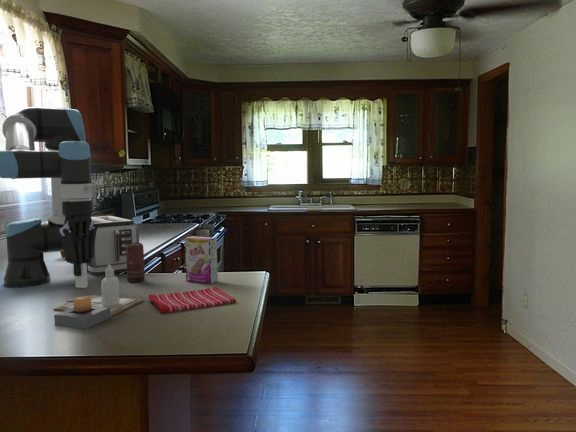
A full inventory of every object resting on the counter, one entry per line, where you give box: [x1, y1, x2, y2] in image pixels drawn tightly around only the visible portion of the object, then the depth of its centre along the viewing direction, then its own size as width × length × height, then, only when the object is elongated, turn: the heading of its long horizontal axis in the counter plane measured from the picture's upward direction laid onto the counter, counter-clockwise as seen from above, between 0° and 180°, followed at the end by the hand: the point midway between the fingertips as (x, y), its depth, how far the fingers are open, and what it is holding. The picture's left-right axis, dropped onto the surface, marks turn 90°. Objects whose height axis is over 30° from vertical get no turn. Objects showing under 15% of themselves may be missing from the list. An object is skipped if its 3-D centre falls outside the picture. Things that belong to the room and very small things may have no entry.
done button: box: [72, 295, 91, 311], centre depth 131 cm, size 4×4×3 cm
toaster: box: [88, 215, 140, 276], centre depth 204 cm, size 19×35×20 cm, turn 39°
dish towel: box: [147, 286, 237, 314], centre depth 150 cm, size 17×24×3 cm
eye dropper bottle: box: [100, 265, 120, 306], centre depth 145 cm, size 4×6×12 cm
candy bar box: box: [184, 235, 219, 285], centre depth 176 cm, size 11×5×16 cm, turn 65°
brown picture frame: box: [53, 294, 145, 317], centre depth 147 cm, size 22×16×1 cm
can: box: [126, 242, 146, 284], centre depth 178 cm, size 6×6×14 cm
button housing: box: [53, 305, 112, 330], centre depth 131 cm, size 10×10×3 cm
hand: (81, 286), depth 130 cm, fingers closed
